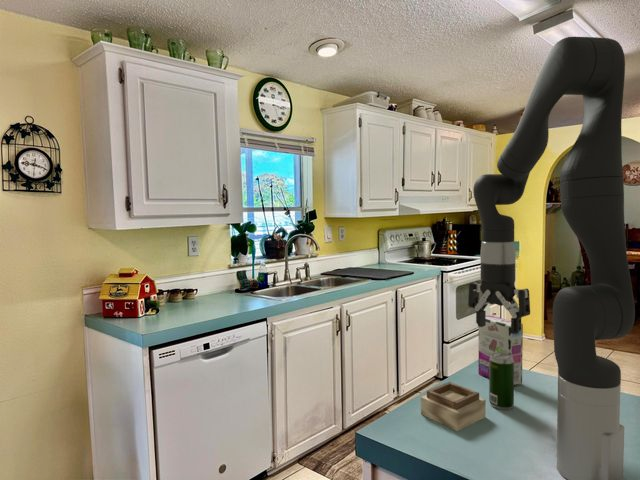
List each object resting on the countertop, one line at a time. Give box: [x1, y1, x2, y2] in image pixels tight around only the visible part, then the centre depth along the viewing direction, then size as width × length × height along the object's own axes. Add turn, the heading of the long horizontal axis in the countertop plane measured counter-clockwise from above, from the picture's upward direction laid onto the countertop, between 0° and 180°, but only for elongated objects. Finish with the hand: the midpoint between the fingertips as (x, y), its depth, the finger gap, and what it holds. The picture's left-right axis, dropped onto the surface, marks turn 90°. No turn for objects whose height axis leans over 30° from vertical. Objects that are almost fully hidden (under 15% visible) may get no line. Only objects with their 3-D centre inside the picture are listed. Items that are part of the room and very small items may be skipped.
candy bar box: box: [477, 315, 524, 387], centre depth 119 cm, size 11×5×16 cm, turn 25°
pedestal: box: [420, 381, 487, 432], centre depth 99 cm, size 10×10×6 cm
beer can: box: [488, 352, 515, 411], centre depth 103 cm, size 5×5×12 cm
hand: (497, 329), depth 102 cm, fingers open, 8 cm apart
